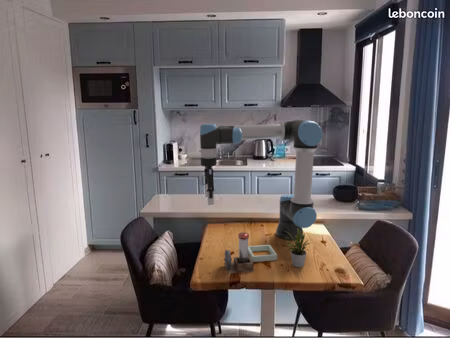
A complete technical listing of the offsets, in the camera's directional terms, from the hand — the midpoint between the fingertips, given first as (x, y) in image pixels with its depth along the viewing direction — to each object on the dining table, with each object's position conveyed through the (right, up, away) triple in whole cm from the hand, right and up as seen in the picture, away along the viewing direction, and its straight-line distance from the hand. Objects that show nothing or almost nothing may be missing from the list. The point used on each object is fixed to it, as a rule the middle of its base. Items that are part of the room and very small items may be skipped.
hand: (209, 200), depth 163 cm
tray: (+25, -28, 0) cm, 37 cm away
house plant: (+41, -29, -6) cm, 50 cm away
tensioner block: (+14, -30, -12) cm, 35 cm away
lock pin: (+16, -28, -12) cm, 35 cm away
